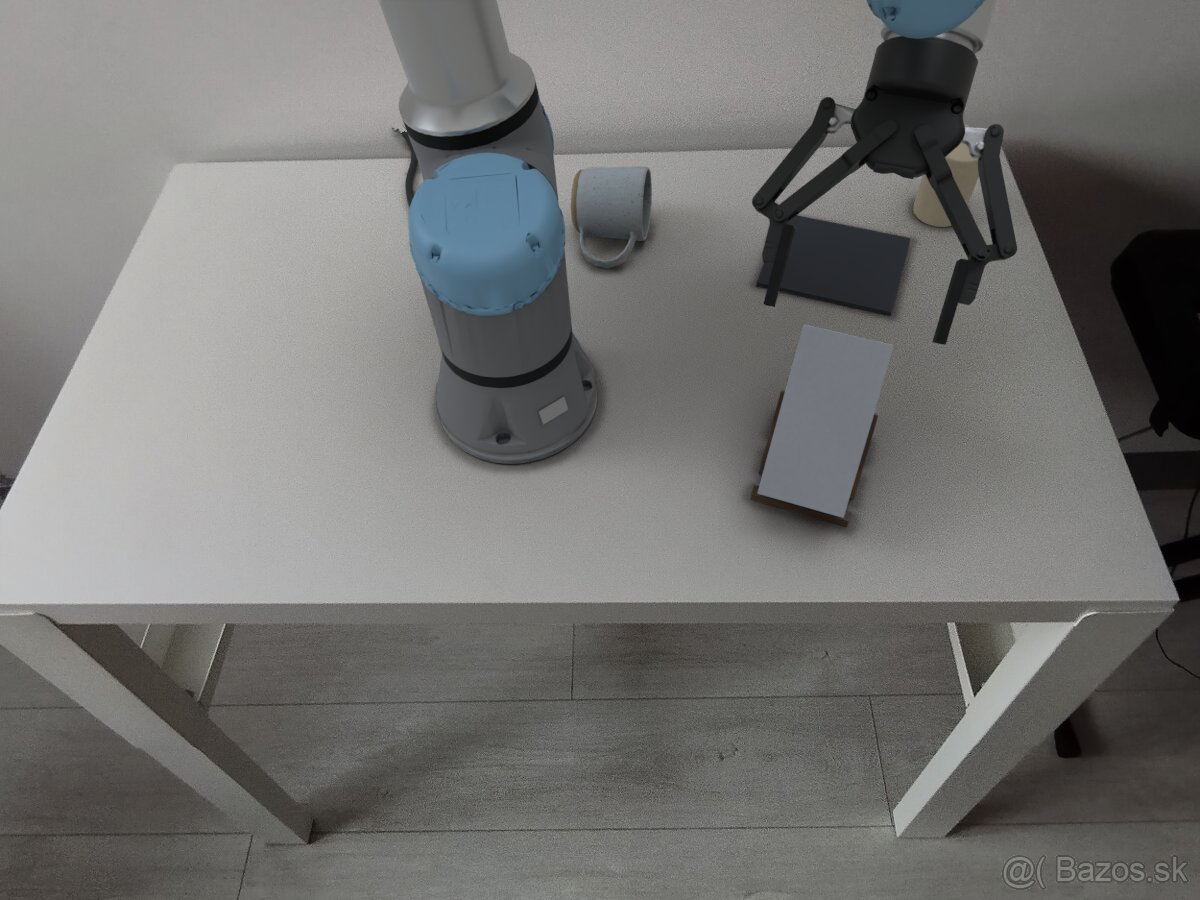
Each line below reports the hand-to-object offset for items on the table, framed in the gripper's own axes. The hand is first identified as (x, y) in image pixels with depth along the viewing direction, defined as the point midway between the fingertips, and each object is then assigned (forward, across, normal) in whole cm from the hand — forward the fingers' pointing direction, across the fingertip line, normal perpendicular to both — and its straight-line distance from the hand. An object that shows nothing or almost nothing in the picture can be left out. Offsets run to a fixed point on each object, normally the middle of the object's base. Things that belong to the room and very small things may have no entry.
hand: (851, 324), depth 68 cm
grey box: (+13, 0, -5) cm, 14 cm away
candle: (-15, -6, -33) cm, 36 cm away
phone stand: (+14, 0, -5) cm, 15 cm away
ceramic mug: (-4, +27, -22) cm, 35 cm away
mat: (-6, +3, -24) cm, 25 cm away
